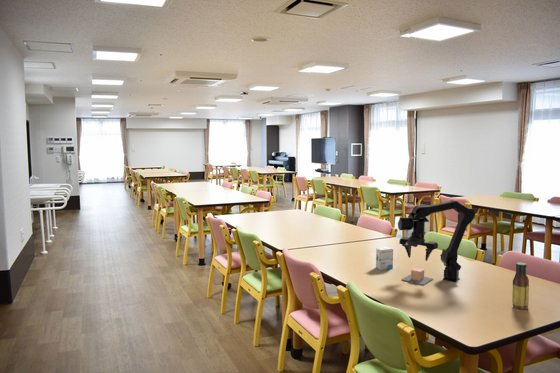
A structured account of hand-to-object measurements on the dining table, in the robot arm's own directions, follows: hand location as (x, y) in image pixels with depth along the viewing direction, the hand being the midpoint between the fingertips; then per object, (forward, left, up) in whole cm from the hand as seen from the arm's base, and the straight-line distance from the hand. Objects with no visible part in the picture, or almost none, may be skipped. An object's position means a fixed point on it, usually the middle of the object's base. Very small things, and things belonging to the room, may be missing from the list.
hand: (417, 259), depth 216 cm
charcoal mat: (0, 0, -11) cm, 11 cm away
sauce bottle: (-49, +5, -11) cm, 51 cm away
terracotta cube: (0, 0, -11) cm, 11 cm away
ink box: (+23, -7, -12) cm, 27 cm away
